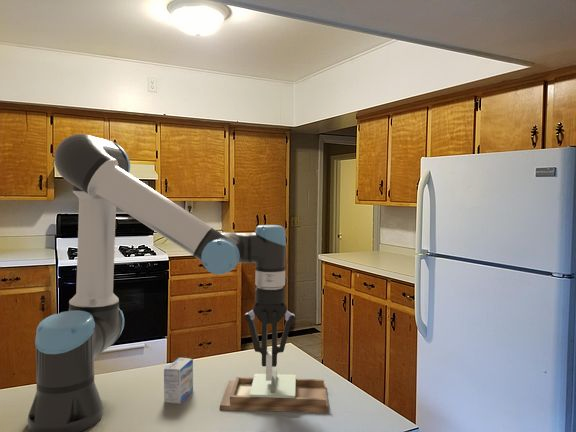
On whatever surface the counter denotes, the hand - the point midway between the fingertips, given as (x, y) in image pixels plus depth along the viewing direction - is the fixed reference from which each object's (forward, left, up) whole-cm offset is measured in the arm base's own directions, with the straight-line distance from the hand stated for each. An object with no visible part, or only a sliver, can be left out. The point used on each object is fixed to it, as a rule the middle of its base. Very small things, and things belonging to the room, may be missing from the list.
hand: (269, 378), depth 113 cm
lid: (+1, 0, -2) cm, 2 cm away
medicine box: (-23, -1, -5) cm, 23 cm away
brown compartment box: (+2, 0, -5) cm, 5 cm away
